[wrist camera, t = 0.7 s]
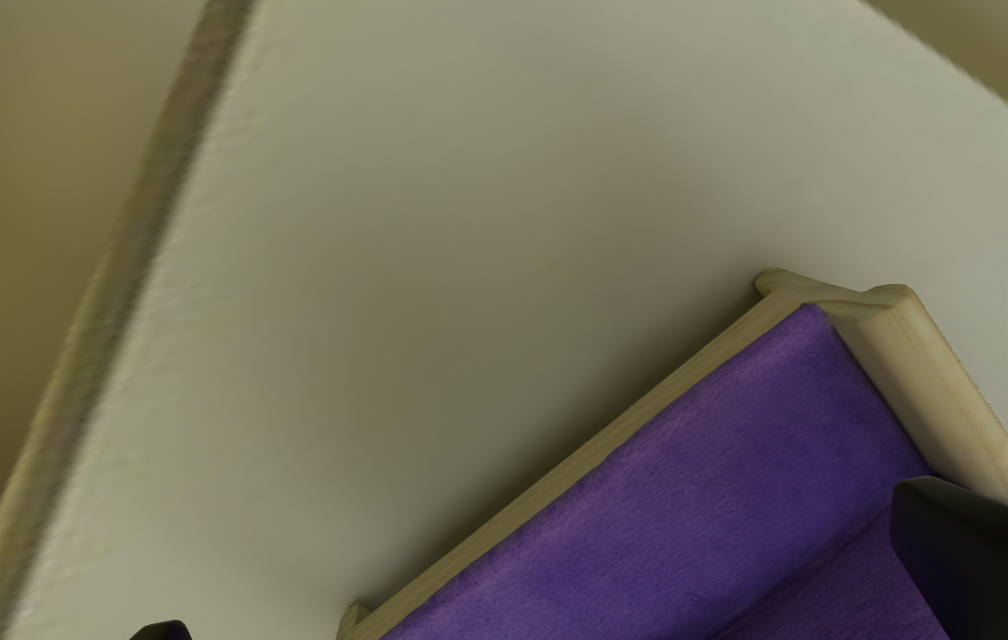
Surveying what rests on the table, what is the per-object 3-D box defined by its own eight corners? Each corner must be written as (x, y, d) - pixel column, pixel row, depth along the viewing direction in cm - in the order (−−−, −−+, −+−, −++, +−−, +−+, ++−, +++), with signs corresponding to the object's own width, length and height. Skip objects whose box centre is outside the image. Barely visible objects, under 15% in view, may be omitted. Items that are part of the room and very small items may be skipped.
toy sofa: (783, 246, 23) (1041, 302, 13) (911, 427, 25) (1223, 599, 15) (324, 613, 24) (236, 915, 14) (476, 756, 26) (491, 1112, 16)
